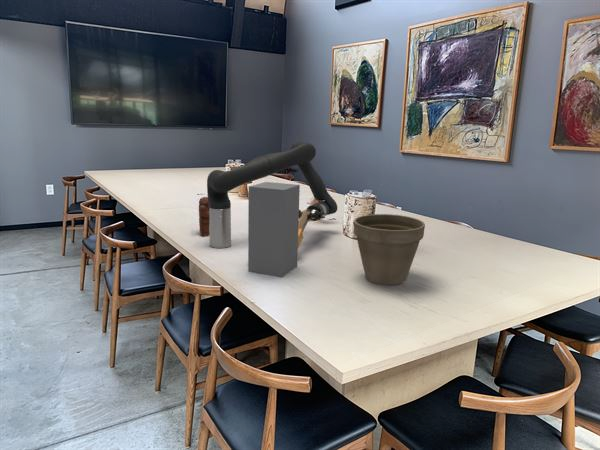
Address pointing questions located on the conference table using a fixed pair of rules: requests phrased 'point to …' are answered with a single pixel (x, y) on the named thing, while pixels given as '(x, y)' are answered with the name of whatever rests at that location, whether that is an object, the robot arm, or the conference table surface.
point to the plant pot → (387, 246)
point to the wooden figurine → (204, 216)
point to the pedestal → (273, 228)
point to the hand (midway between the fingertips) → (304, 216)
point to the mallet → (302, 226)
